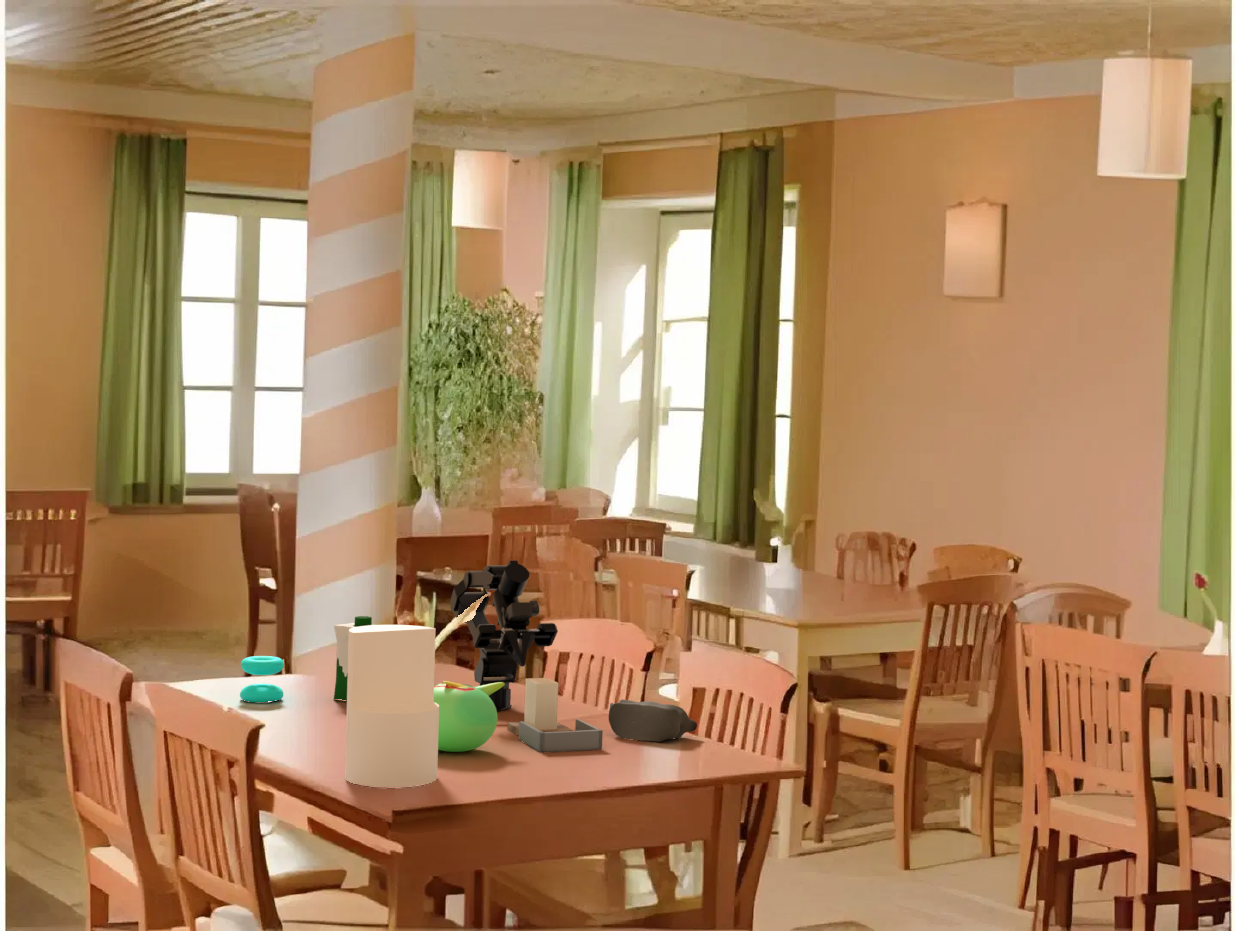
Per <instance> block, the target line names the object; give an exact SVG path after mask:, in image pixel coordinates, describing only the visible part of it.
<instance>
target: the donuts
mask: <svg viewBox="0 0 1235 931" xmlns="http://www.w3.org/2000/svg"><path fill="white" fill-rule="evenodd" d="M284 667H285V662H284V660H283V659H282V658H280V657H278V656H271V655H270V656H269V655H253V656H248V657H245V658H243V659H242V660H241V662H240V668H241V669H242V671H243V672H245V673H247V674H248V675H249V674H250V675H255V676H268V675H269V676H270V675H271V676H272V675H276V674H278V673H280V672H281V671H283V669H284ZM239 696H240V699H241V700H242V699H243V700H242V701H244V700H245V701H244V702H246V701H249V702H248V703H250V702H268V701H275V700H279V701H280V699H281V700H282V698H283V697H284V691H283V689H282V688H281V687H280V686H278V685H276V684H273V683H271V684H270V683H252V684H249V685H246V686H244V687H243V688H242V689H241V690H240V693H239Z"/></svg>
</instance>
